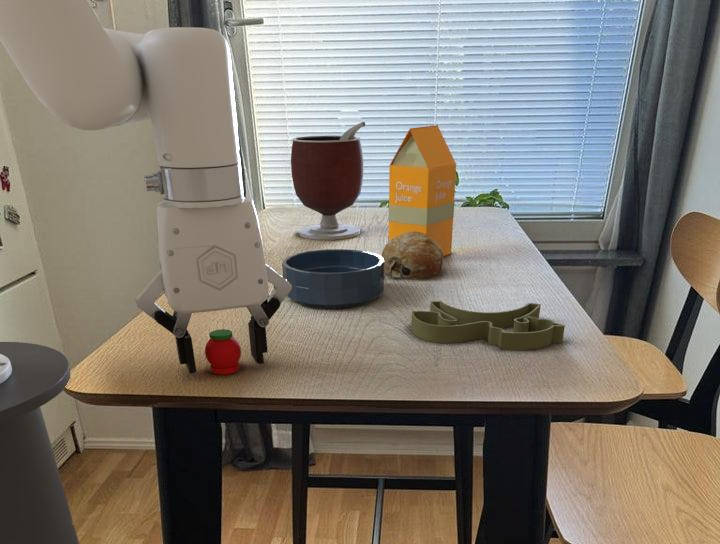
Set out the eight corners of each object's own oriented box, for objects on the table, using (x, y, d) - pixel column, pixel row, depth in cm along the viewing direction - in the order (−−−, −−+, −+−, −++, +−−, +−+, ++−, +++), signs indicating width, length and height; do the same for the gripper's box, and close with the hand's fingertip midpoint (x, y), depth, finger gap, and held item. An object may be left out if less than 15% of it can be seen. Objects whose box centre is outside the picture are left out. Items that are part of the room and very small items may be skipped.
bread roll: (376, 297, 108) (370, 255, 101) (393, 256, 113) (387, 214, 107) (437, 302, 105) (434, 260, 99) (450, 259, 110) (448, 217, 104)
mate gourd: (280, 235, 133) (272, 121, 122) (322, 224, 143) (317, 117, 132) (345, 244, 125) (342, 123, 115) (383, 231, 135) (384, 119, 125)
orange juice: (452, 253, 118) (459, 125, 108) (425, 263, 112) (430, 129, 102) (414, 248, 122) (418, 124, 112) (387, 257, 116) (388, 127, 106)
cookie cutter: (553, 318, 86) (555, 303, 85) (566, 351, 76) (568, 334, 75) (413, 315, 88) (414, 300, 87) (407, 346, 78) (408, 329, 77)
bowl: (300, 316, 88) (298, 277, 86) (273, 288, 100) (271, 254, 97) (399, 303, 93) (399, 267, 90) (362, 279, 104) (362, 245, 101)
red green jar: (210, 378, 71) (205, 340, 68) (204, 365, 74) (199, 329, 71) (246, 372, 72) (242, 336, 70) (238, 360, 75) (235, 325, 73)
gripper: (108, 197, 57) (145, 389, 67) (302, 184, 63) (311, 365, 72) (104, 186, 63) (139, 364, 73) (281, 175, 69) (292, 342, 78)
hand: (224, 363), depth 72 cm, fingers open, 6 cm apart
